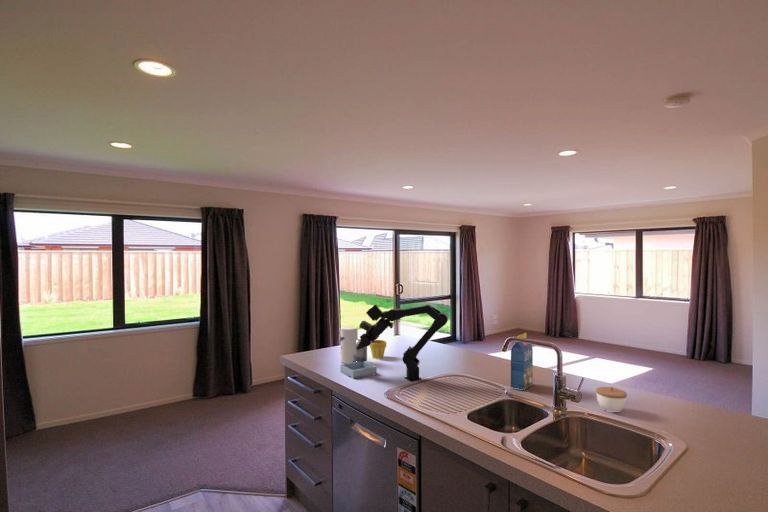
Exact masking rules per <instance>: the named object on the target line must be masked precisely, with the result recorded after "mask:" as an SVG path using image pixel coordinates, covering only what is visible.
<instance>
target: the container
mask: <svg viewBox="0 0 768 512" xmlns="http://www.w3.org/2000/svg"><path fill="white" fill-rule="evenodd" d="M358 333H359V331H358V327H357V326H354V325H353V326H352V325H351V326H349V325H348V326H342V327H340V363H342V362H343V363H342V364H347V363H353V362H356V340H357V339H358V337H359V335H358Z"/></svg>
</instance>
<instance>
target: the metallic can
mask: <svg viewBox="0 0 768 512" xmlns="http://www.w3.org/2000/svg"><path fill="white" fill-rule="evenodd" d="M360 341H361V339H360V336H358V339H357V340H356V348H357V346H358V345H359V343H360ZM356 361H357V362H367V361H368V346H366V347H364V348H361V349H358V350H357V349H356Z"/></svg>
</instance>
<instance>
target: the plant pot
mask: <svg viewBox="0 0 768 512" xmlns="http://www.w3.org/2000/svg"><path fill="white" fill-rule="evenodd" d="M369 348H370V352H371V355H372V356H371V357H372V359H374V358H381V359H383V358H384V356H385V350H386V348H387V341H386V340H383V339H376V340H375V341H374V342H372V343H371V344H370V345H369Z"/></svg>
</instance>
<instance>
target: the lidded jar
mask: <svg viewBox="0 0 768 512" xmlns="http://www.w3.org/2000/svg"><path fill="white" fill-rule="evenodd" d="M595 392H596V400H597V401H596V402H597V403H598V405H599V406H600V407H601V408H602V410H603V409H606V410H610V411H620V412H621V411H623V410H624V408H625V407H626V404H627V396H628V394H627V392H626V391H625V390H622V389H620V388H617V387H613V386H599V387H597V388H595Z"/></svg>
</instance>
